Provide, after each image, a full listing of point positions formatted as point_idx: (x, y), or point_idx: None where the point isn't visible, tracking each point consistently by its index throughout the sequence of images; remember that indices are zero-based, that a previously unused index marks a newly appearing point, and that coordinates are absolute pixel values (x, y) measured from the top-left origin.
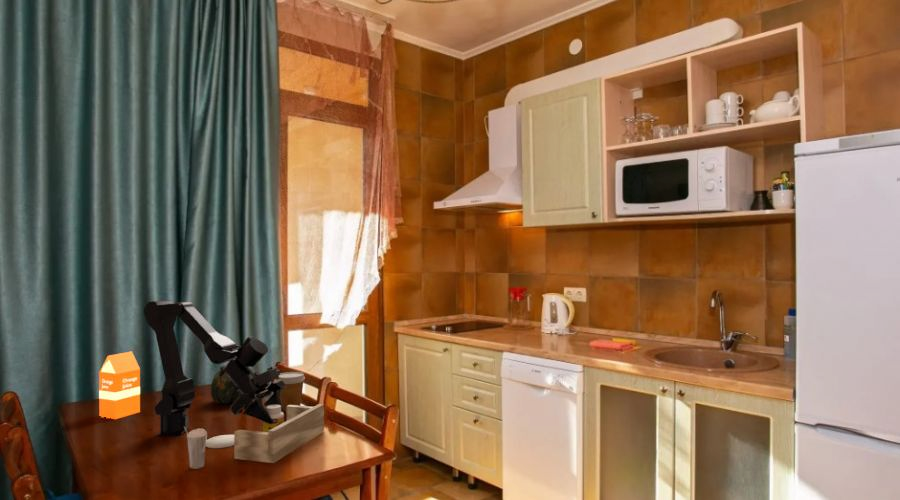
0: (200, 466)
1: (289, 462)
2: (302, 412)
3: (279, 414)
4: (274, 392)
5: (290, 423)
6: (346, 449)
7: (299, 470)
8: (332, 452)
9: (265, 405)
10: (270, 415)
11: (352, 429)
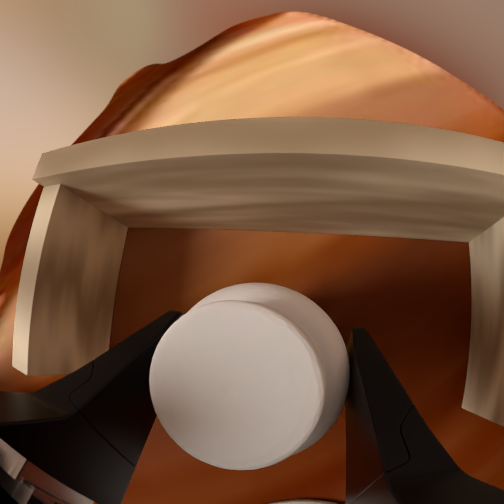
0: None
1: None
2: (57, 276)
3: (277, 299)
4: (4, 452)
5: (415, 129)
6: (287, 64)
7: (480, 121)
8: (325, 83)
9: (121, 496)
10: (328, 371)
11: (107, 133)
